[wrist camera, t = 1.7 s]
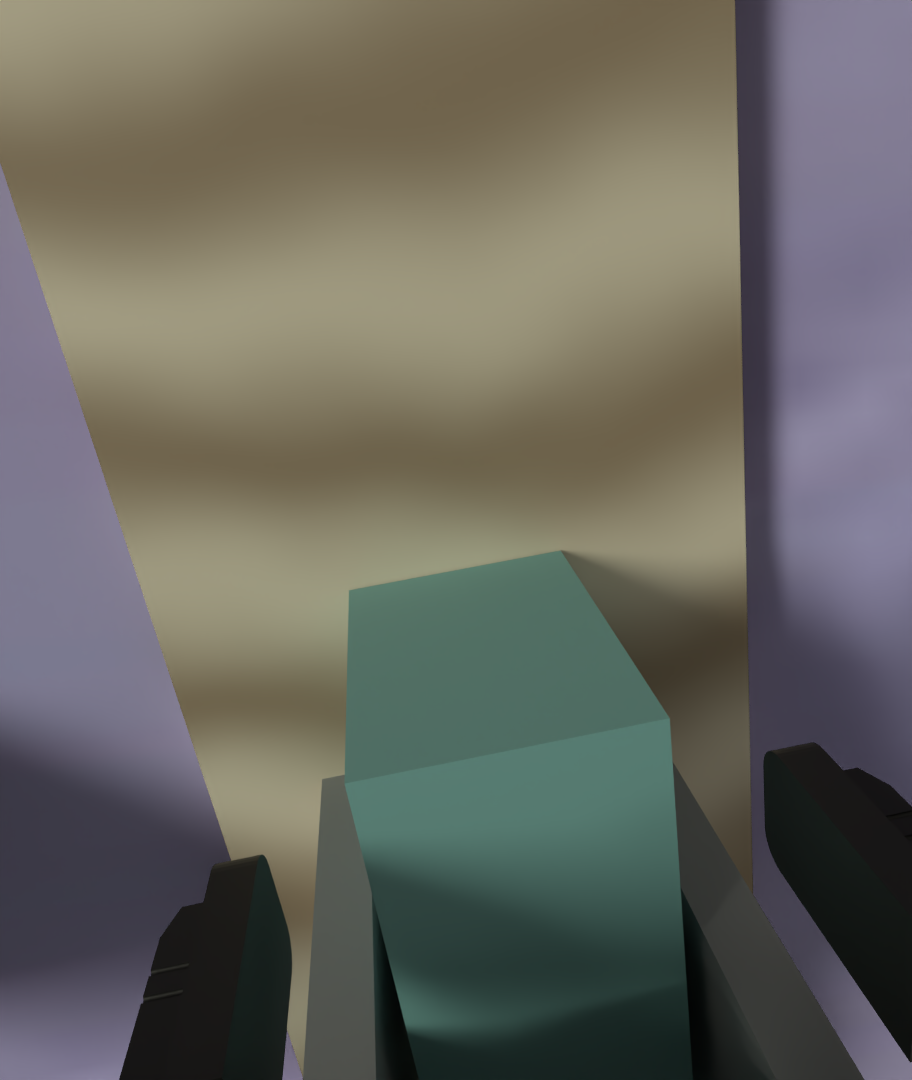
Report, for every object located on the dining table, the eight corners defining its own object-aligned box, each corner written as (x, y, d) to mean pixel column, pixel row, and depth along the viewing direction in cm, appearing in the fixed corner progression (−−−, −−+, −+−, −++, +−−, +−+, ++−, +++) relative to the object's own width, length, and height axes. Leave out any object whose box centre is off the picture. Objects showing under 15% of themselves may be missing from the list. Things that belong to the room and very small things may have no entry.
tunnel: (322, 779, 20) (288, 1286, 10) (644, 714, 21) (903, 1143, 11) (381, 1002, 23) (398, 1560, 13) (662, 941, 24) (878, 1439, 14)
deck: (-31, -26, 15) (-100, -73, 13) (697, -131, 16) (755, -193, 13) (375, 1249, 29) (377, 1332, 27) (740, 1164, 30) (771, 1238, 28)
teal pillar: (349, 590, 18) (344, 783, 12) (560, 550, 19) (669, 718, 12) (464, 1105, 25) (502, 1410, 18) (619, 1070, 25) (710, 1358, 19)
